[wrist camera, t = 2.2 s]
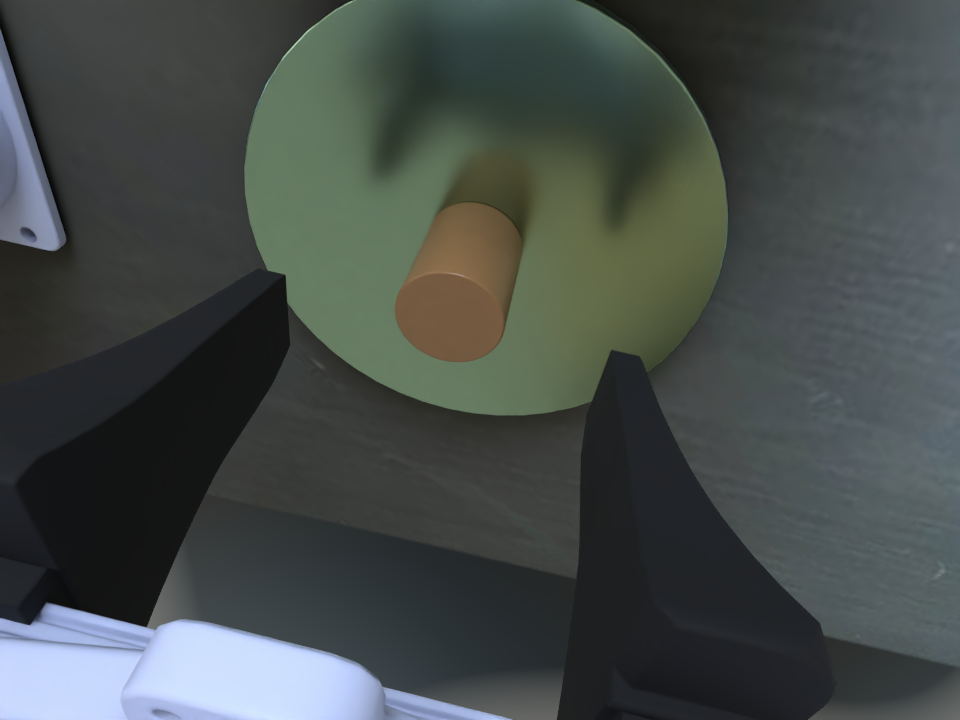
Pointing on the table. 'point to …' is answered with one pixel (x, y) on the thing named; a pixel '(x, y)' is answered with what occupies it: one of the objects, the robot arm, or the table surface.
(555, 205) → the tin lid
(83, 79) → the table surface
